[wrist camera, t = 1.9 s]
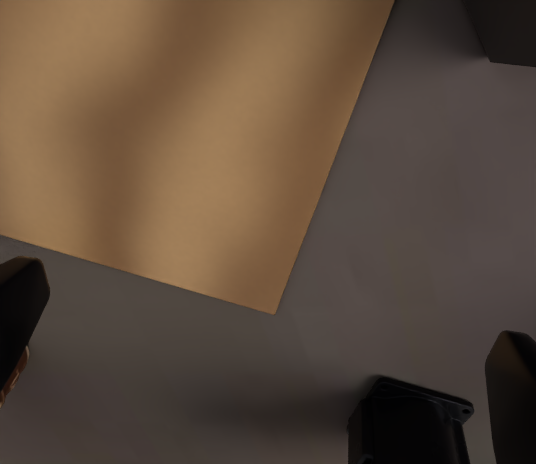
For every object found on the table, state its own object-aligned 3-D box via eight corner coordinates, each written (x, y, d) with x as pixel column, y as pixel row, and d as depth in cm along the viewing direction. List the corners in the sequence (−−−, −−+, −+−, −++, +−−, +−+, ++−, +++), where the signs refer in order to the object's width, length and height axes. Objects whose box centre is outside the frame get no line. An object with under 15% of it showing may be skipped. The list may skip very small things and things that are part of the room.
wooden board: (420, -71, 16) (422, -71, 16) (275, 310, 28) (274, 315, 28) (-79, -231, 16) (-88, -234, 16) (-15, 225, 28) (-19, 229, 27)
